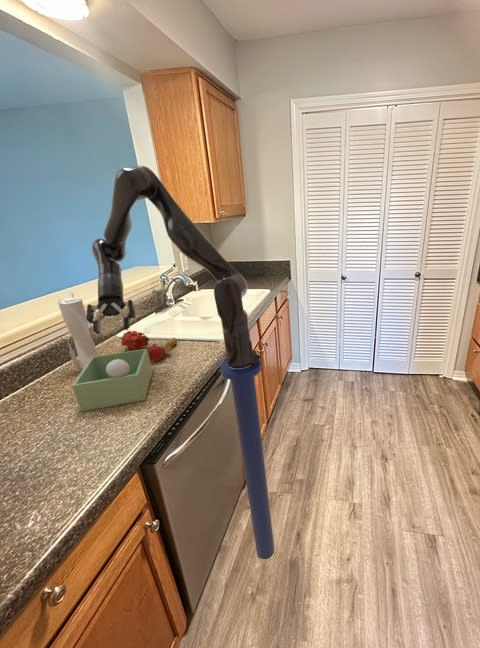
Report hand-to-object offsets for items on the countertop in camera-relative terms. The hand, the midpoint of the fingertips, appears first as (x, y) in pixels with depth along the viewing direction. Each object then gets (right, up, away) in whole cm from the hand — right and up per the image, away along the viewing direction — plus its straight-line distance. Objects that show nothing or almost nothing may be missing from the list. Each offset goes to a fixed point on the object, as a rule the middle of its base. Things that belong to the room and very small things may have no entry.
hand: (112, 331), depth 107 cm
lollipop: (+2, -18, 0) cm, 18 cm away
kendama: (+7, -9, +24) cm, 27 cm away
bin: (+3, -19, 0) cm, 19 cm away
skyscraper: (-18, -13, +17) cm, 28 cm away
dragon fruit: (-7, -7, +30) cm, 32 cm away
